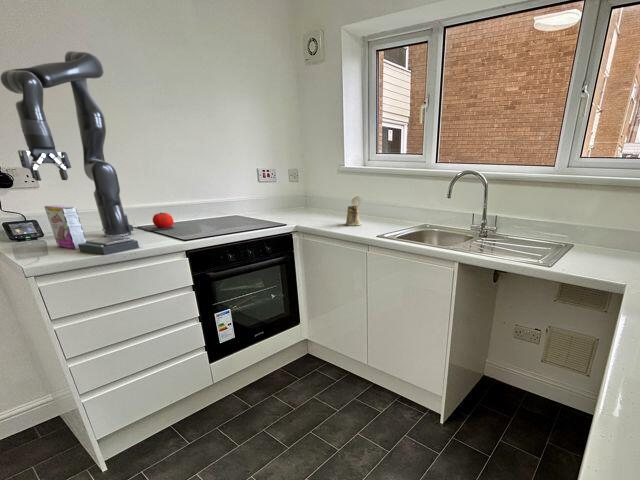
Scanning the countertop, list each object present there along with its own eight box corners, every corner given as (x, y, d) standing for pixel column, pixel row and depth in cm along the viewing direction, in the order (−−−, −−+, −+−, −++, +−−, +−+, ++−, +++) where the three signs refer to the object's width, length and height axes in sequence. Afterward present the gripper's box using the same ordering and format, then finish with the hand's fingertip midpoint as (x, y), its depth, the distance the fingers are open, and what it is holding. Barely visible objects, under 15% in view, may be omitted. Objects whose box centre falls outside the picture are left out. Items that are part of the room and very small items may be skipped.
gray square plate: (114, 237, 148) (113, 235, 148) (133, 240, 145) (133, 238, 145) (86, 242, 138) (85, 240, 138) (106, 245, 135) (105, 243, 135)
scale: (116, 244, 150) (114, 237, 149) (139, 247, 147) (137, 239, 146) (80, 251, 138) (77, 243, 136) (104, 255, 134) (102, 246, 133)
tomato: (163, 226, 192) (159, 210, 189) (180, 227, 191) (177, 211, 188) (149, 229, 184) (145, 213, 180) (167, 230, 182) (163, 214, 179)
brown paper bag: (350, 227, 209) (350, 196, 202) (343, 224, 220) (343, 194, 213) (364, 226, 212) (364, 196, 206) (357, 223, 224) (356, 194, 217)
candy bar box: (56, 246, 143) (43, 205, 137) (70, 244, 148) (58, 204, 142) (74, 249, 140) (61, 207, 134) (88, 247, 144) (76, 206, 138)
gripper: (20, 132, 121) (35, 181, 127) (67, 135, 134) (79, 180, 140) (5, 132, 123) (22, 180, 129) (53, 135, 136) (66, 179, 142)
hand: (51, 180), depth 134 cm, fingers open, 8 cm apart
